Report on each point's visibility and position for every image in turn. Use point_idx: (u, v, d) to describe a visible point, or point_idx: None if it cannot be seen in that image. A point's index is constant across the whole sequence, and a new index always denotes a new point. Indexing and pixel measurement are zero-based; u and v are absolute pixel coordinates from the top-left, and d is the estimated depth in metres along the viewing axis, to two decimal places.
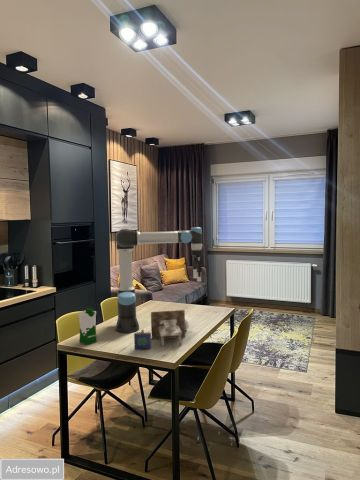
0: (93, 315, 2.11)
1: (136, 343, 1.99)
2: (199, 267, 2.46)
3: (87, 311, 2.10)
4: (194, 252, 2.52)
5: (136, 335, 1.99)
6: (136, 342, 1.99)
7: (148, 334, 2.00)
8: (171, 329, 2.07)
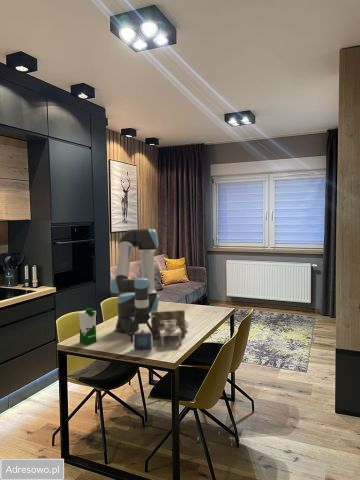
0: (93, 315, 2.11)
1: (136, 343, 1.99)
2: (128, 330, 1.99)
3: (87, 311, 2.10)
4: None
5: (136, 335, 1.99)
6: (136, 342, 1.99)
7: (148, 334, 2.00)
8: (171, 329, 2.07)
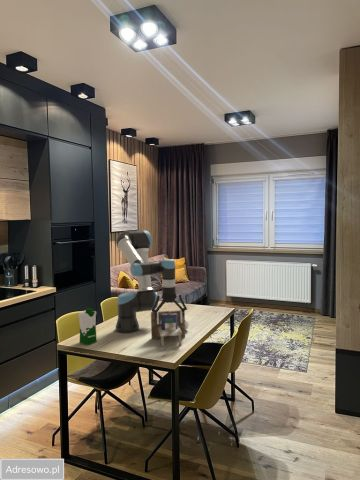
0: (93, 315, 2.11)
1: (163, 323, 2.09)
2: (153, 306, 2.09)
3: (87, 311, 2.10)
4: None
5: (163, 316, 2.09)
6: (163, 322, 2.09)
7: (174, 315, 2.10)
8: (171, 329, 2.07)
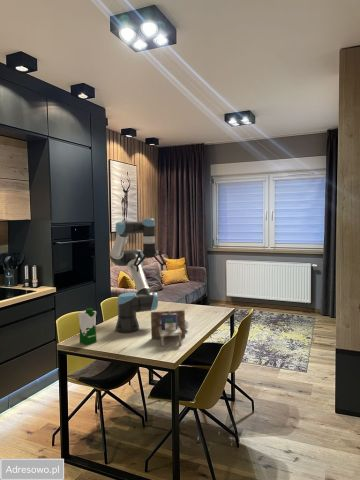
0: (93, 315, 2.11)
1: (163, 323, 2.09)
2: (134, 261, 2.31)
3: (87, 311, 2.10)
4: None
5: (163, 316, 2.09)
6: (163, 322, 2.09)
7: (174, 315, 2.09)
8: (171, 329, 2.07)
